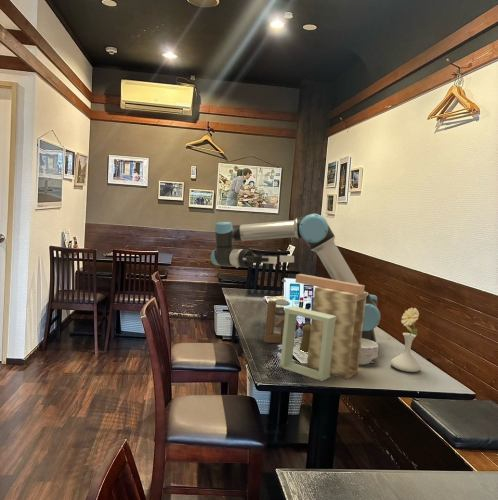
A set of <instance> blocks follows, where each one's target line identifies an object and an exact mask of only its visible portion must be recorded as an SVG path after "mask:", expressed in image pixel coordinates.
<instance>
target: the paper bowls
mask: <svg viewBox="0 0 498 500" xmlns="http://www.w3.org/2000/svg"><path fill="white" fill-rule="evenodd" d="M378 353H379V344H378V342H377V341H376V342H374V341H371V340H368V339H364V338H362V339H361V348H360V357H359V365H368V364H370V363H372V361H373V360H375V359H377V358H378V355H379V354H378Z"/></svg>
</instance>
